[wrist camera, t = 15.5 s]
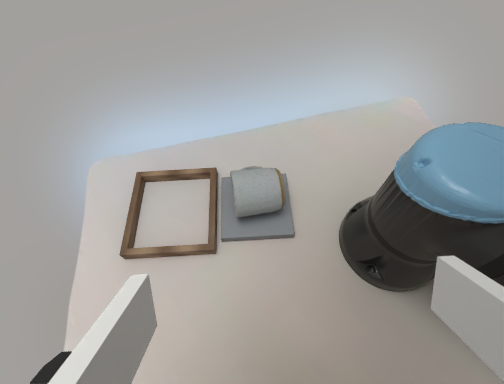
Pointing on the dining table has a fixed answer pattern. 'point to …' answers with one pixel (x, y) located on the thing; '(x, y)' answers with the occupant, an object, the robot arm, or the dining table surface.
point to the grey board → (253, 219)
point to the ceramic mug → (257, 190)
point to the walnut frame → (135, 206)
